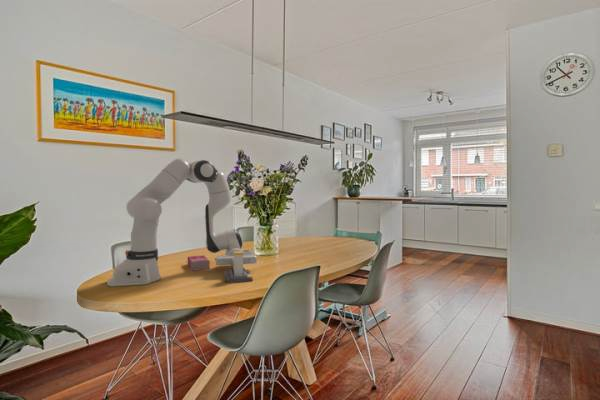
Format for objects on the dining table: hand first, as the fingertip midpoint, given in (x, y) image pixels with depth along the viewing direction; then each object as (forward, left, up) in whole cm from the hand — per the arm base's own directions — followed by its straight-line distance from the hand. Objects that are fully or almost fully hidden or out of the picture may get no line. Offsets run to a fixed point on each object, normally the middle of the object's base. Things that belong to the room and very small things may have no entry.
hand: (237, 263), depth 170 cm
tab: (0, -2, -5) cm, 6 cm away
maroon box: (-14, +33, -7) cm, 37 cm away
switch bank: (0, 0, -7) cm, 7 cm away
